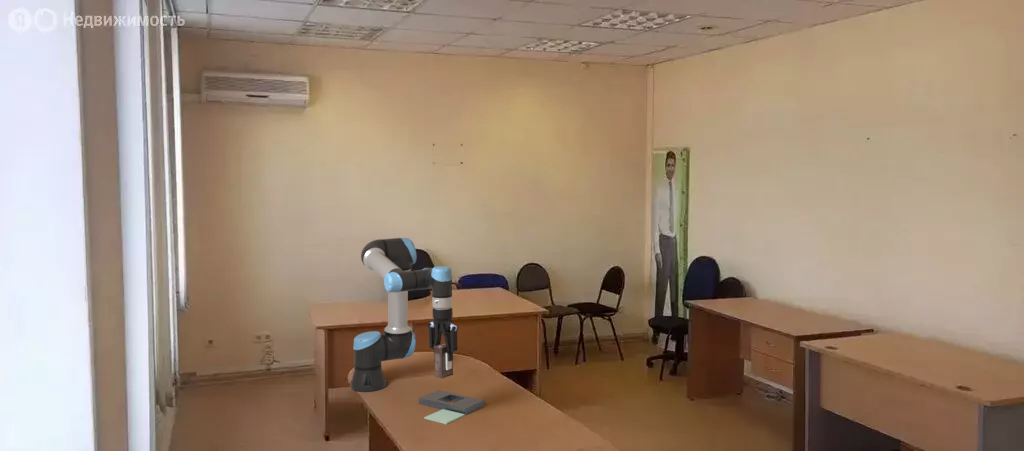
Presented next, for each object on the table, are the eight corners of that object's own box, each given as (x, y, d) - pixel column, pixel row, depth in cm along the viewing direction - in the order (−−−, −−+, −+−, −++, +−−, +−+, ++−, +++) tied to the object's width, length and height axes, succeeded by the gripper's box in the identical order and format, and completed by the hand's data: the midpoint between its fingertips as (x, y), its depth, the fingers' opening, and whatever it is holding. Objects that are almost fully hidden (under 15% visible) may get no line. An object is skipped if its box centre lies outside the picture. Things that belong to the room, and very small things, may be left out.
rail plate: (419, 403, 302) (418, 397, 302) (438, 395, 312) (438, 389, 312) (465, 414, 289) (465, 408, 288) (484, 406, 299) (484, 400, 298)
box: (444, 373, 289) (444, 342, 287) (453, 375, 286) (453, 344, 284) (433, 376, 284) (433, 345, 283) (442, 379, 281) (442, 347, 280)
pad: (424, 418, 285) (424, 417, 285) (443, 410, 294) (442, 409, 294) (446, 424, 279) (446, 422, 279) (464, 415, 288) (464, 414, 288)
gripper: (418, 306, 284) (419, 367, 286) (454, 311, 274) (455, 374, 276) (431, 303, 290) (432, 362, 293) (466, 308, 280) (467, 369, 283)
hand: (443, 367), depth 284 cm, fingers closed on box, 4 cm apart
